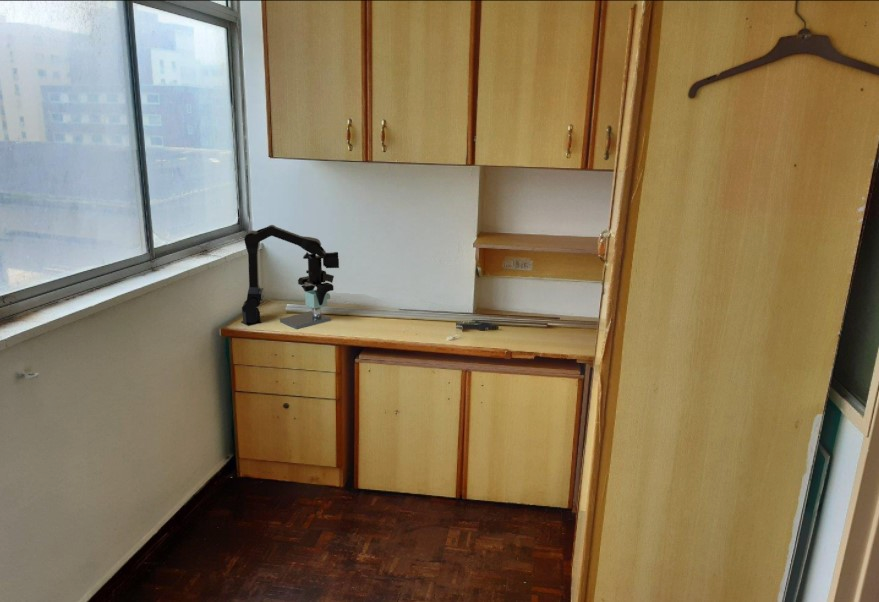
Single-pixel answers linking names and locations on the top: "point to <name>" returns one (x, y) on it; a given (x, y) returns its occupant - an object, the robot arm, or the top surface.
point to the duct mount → (305, 319)
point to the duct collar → (315, 299)
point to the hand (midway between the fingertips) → (316, 303)
